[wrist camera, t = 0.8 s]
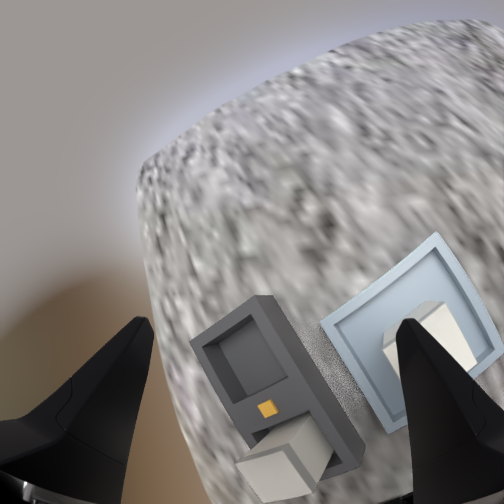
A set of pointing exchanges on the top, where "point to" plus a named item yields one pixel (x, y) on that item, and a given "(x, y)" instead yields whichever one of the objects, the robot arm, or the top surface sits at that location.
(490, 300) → the top surface
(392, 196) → the top surface
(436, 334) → the plug
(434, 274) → the tray
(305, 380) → the grey boxy piece
